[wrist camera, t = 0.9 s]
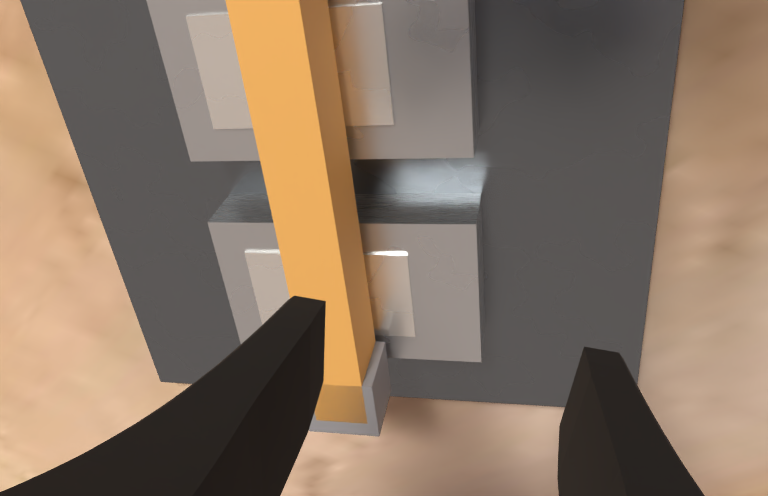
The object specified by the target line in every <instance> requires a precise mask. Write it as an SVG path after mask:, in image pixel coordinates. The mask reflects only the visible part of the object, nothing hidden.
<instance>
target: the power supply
mask: <svg viewBox="0 0 768 496" xmlns="http://www.w3.org/2000/svg"><path fill="white" fill-rule="evenodd" d="M146 1H147V5H148V8H149V12H150V16H151V19H152V23H153V26H154V30H155V34H156V37H157V41H158V45H159V48H160V52H161V56H162V59H163V63H164V66H165V70H166V74H167V77H168V81H169V85H170V88H171V92H172V95H173V99H174V103H175V106H176V110H177V114H178V117H179V121H180V125H181V128H182V132H183V135H184V139H185V143H186V146H187V150H188V154H189V157H190V161H191V162H193V161H260V158H259V153H258V149H257V144H256V139H255V135H254V130H253V126H252V121H251V116H250V112H249V107H248V102H247V98H246V93H245V89H244V84H243V79H242V75H241V70H240V66H239V61H238V56H237V52H236V47H235V42H234V38H233V33H232V29H231V24H230V19H229V15H228V10H227V6H226V1H225V0H146ZM327 1H328V8H329V15H330V22H331V29H332V36H333V43H334V50H335V57H336V65H337V72H338V79H339V86H340V93H341V100H342V107H343V114H344V121H345V128H346V135H347V142H348V149H349V157H350V159H423V158H474V154H475V149H476V143H477V138H478V133H479V115H478V84H477V53H476V22H475V0H327Z"/></svg>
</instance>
